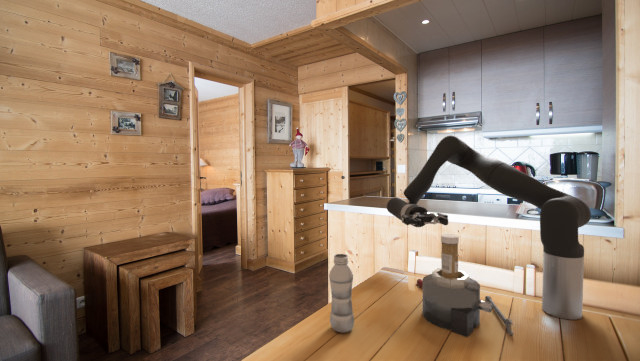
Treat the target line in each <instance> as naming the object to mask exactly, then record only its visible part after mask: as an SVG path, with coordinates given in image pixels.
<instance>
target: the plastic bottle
mask: <svg viewBox="0 0 640 361" xmlns="http://www.w3.org/2000/svg"><path fill="white" fill-rule="evenodd" d="M348 258H349V256H348V255H347V254H345V253H337V254H334V256H333V266H332V268H331V269H330V271H329V274H328V276H329V277H328V278H329V285H330V292H331V308H330V309H331V311H330V314H329V315H330V316H329V317H330V318H329V322H330V326H331V328H332V330H333V331H335V332H337V333H349V332H351V331H352V329H353V328H354V327H355V316H354V315H355V314H354V311H353V301H352V299H353V297H352V294H353V293H352V291H353V282H354V274H353V271H352V269H351V267H349V265H348V264H349V260H348Z"/></svg>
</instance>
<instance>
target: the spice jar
mask: <svg viewBox="0 0 640 361" xmlns="http://www.w3.org/2000/svg"><path fill="white" fill-rule="evenodd" d="M459 241H460V240H459V236H458V235H457V234H452V233H444V234H441V236H440V242H441V261H440V262H441V264H440V265H441V268H442V277H446V278H458V270H459V252H458V250H459V248H458V247H459V246H458V245H459V243H460V242H459Z"/></svg>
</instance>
